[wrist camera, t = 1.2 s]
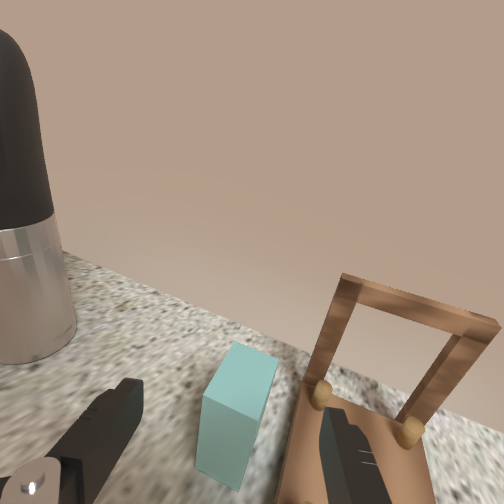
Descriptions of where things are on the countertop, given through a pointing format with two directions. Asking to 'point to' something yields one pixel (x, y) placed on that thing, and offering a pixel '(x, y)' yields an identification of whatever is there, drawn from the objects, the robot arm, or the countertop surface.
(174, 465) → the countertop surface
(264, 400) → the teal block
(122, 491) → the countertop surface
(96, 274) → the countertop surface
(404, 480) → the peg shelf
